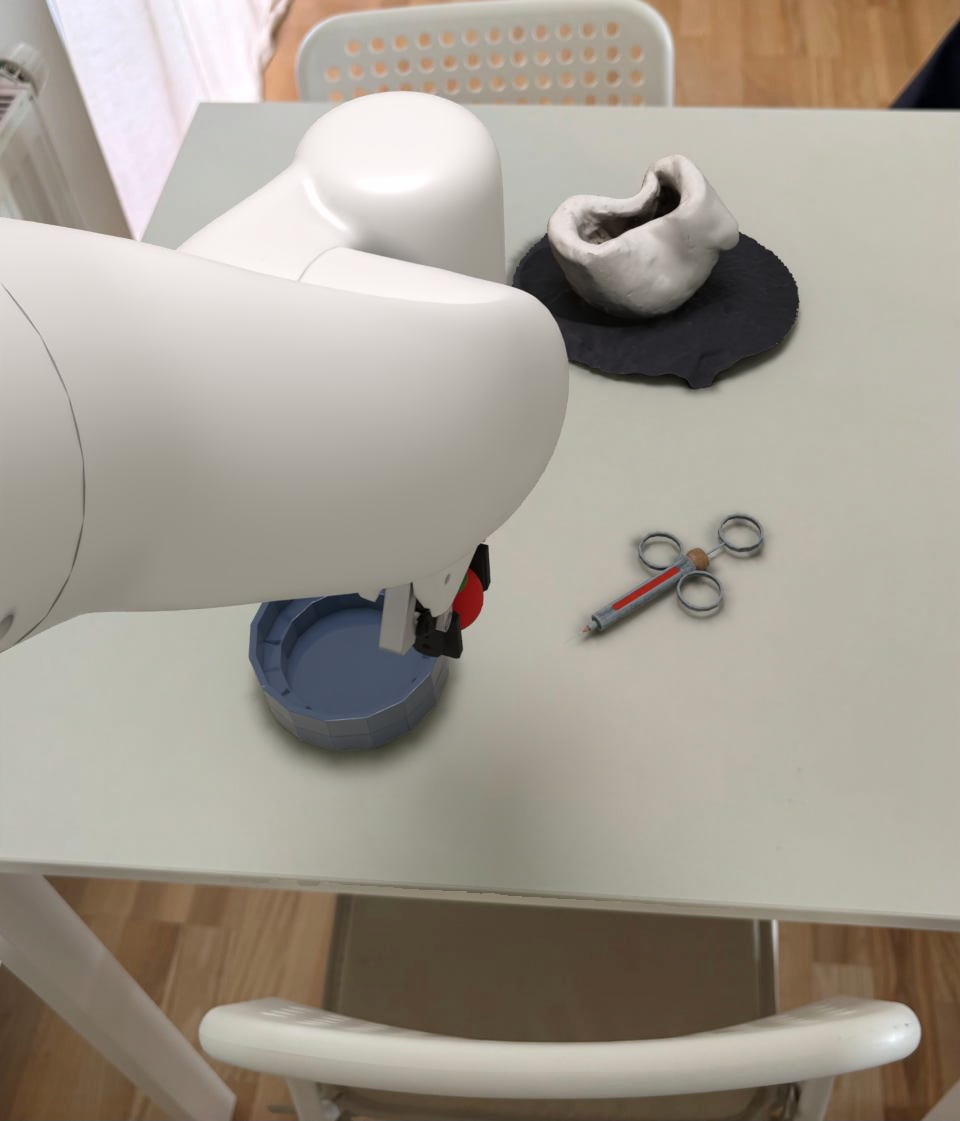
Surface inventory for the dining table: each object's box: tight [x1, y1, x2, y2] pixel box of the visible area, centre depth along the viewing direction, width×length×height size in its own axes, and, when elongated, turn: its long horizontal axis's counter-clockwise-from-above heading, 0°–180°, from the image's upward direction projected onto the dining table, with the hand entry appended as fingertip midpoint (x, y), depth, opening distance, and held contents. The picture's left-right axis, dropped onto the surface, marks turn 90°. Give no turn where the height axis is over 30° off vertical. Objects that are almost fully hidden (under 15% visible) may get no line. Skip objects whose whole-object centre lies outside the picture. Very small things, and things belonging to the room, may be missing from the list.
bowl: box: [248, 588, 449, 753], centre depth 76 cm, size 13×13×5 cm
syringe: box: [563, 513, 764, 644], centre depth 80 cm, size 8×18×2 cm, turn 124°
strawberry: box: [452, 568, 485, 631], centre depth 61 cm, size 4×4×4 cm
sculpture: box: [511, 153, 801, 390], centre depth 94 cm, size 23×25×13 cm
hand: (449, 612), depth 62 cm, fingers closed on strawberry, 3 cm apart
